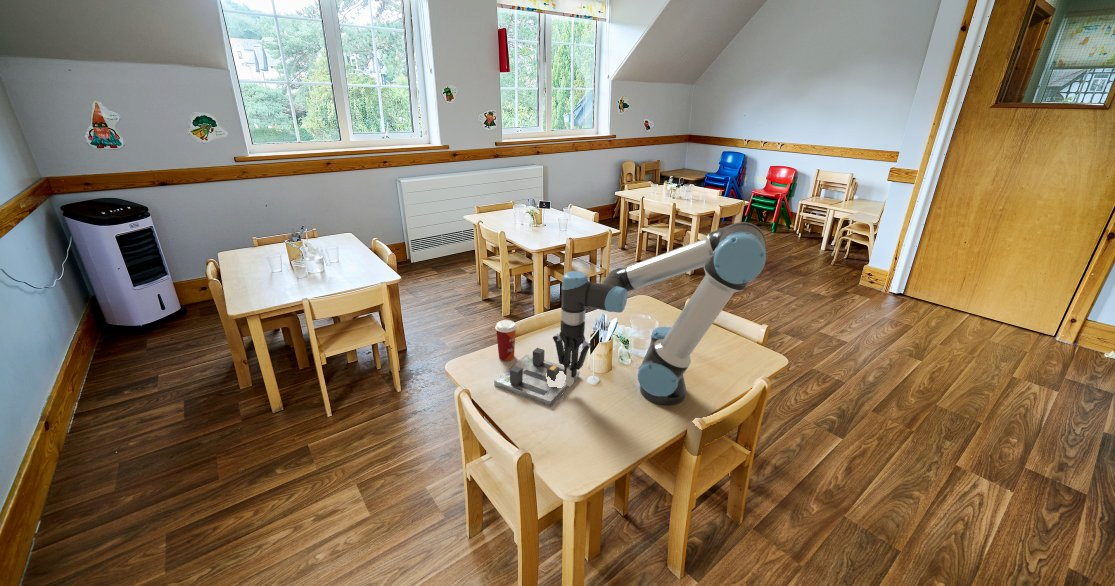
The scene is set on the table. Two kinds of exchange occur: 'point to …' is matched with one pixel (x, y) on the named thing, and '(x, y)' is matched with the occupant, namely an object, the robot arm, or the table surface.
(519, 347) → the table surface
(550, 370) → the block
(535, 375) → the panel
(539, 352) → the block
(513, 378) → the block
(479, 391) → the table surface
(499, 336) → the paper cup
